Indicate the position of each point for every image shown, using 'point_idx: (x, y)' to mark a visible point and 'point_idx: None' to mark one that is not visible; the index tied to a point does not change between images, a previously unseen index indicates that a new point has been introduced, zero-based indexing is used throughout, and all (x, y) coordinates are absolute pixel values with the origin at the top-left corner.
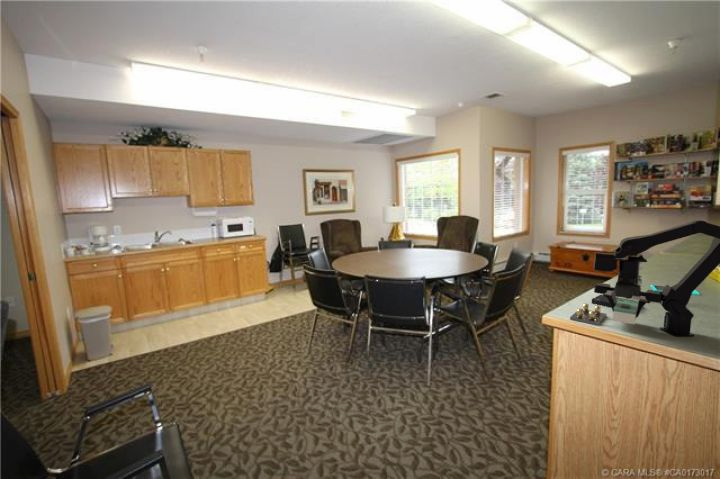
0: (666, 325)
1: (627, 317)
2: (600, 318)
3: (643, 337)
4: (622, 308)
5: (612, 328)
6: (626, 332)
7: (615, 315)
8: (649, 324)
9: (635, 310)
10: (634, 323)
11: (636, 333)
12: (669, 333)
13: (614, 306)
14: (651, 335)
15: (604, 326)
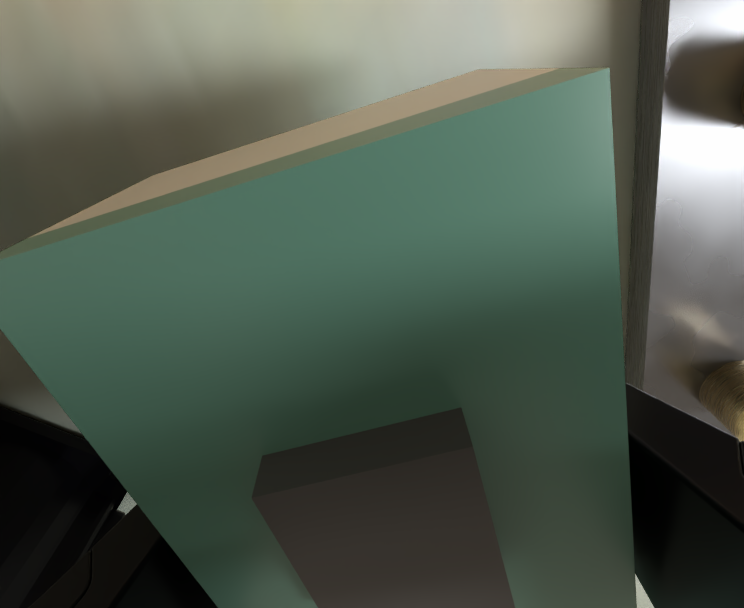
0: (24, 499)
1: (223, 160)
2: (672, 244)
3: (17, 40)
4: (381, 315)
5: (441, 54)
6: (247, 50)
7: (464, 83)
8: None
9: (77, 412)
10: (146, 180)
11: (161, 134)
12: (3, 410)
13: None
14: (41, 220)
15: (553, 41)
